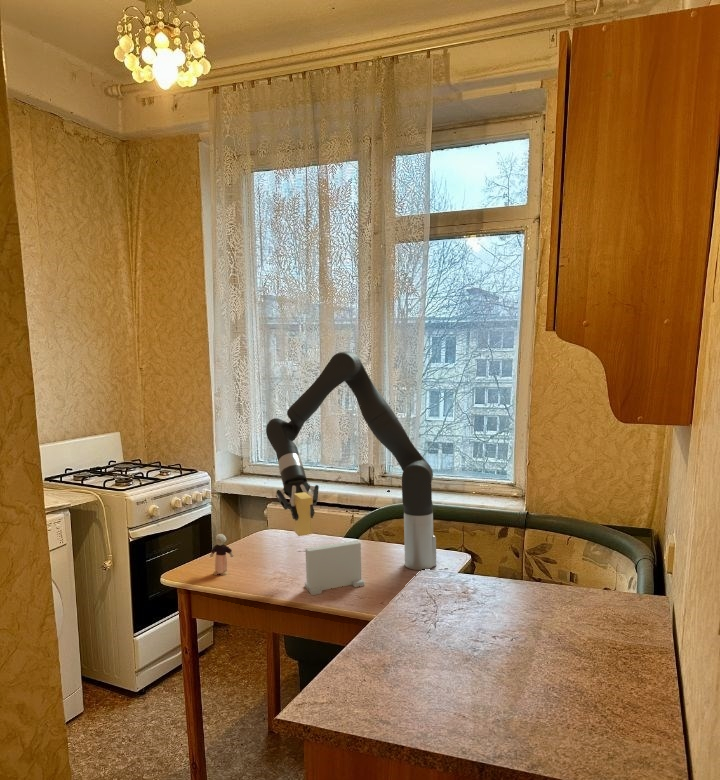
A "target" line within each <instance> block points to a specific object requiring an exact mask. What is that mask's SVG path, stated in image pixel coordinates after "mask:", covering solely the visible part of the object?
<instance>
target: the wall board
mask: <svg viewBox="0 0 720 780" xmlns="http://www.w3.org/2000/svg"><path fill="white" fill-rule="evenodd" d="M343 542H344V543H341V542H336V543H337V544H334V543H331V544H326V545H317V546H312V547H305V572H306V573H305V574H306V581H305V582H304V587H305V588H306V589H307V591H308V593H310V595H311V596H315V595H321V594H322V592H323V591H325V590H332V589H336V588H341V587H342V586H343V587H348V586H352V587H354V588H360V587H363V586H364V587H365V581H364V580H363V579H362V548H361V547H362V543H361V542H360V541H359V540H352V541H343ZM359 586H360V587H359ZM343 587H342V588H343ZM331 588H332V589H331Z"/></svg>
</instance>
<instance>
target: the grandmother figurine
mask: <svg viewBox="0 0 720 780" xmlns="http://www.w3.org/2000/svg"><path fill="white" fill-rule="evenodd" d="M226 541H227V537H226V536H225V535H224V534H223V533H218V534H216V535H215V542H216V545H214V546H213V547H212V549H211V552H210V555H209V557H210V558H214V559H215V560H214V561H215V564H214V566H215V567H214V571H213V573H212V575H213V574H214V575H213V576H216V575H217V574H218V575H219V574H220V576H226V574H227V575H228V573H229V572H228V558H227V557H228V556H227V554H228V555H229V556H230V558H234V556H235V555H234V553H233V550H232V548H230V547H229V546H228V545H225V542H226ZM214 555H215V557H214ZM218 575H217V576H218Z"/></svg>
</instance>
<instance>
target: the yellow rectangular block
mask: <svg viewBox="0 0 720 780" xmlns="http://www.w3.org/2000/svg"><path fill="white" fill-rule="evenodd" d="M308 494H309V493H308ZM308 494H307V493H305V492H302V493H295V494H294V496H295V506H296V510H297V513H298V516H299V518H298V520H296V521H295V520H294V532H295V534H296V535H297V536H298V537H303V536H308V535H312V518H311V513H310V505H312V504H313V496H311V495H310V494H309V495H308Z"/></svg>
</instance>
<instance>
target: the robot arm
mask: <svg viewBox="0 0 720 780" xmlns="http://www.w3.org/2000/svg"><path fill="white" fill-rule="evenodd" d="M344 382H345V384H346V385H347V386H348V387H349V389H350V390H351V392H352V393H353V394H354V396H355V398H356V399H355V400H356V401H357V404H358V406H359V410H360V413H361V416H362V418H363V420H364V421H365V423H366V425H367V426H368V428H369V429H370V431H371V433H372V434H373V436H375V438H376V439H377V440H378V441H379V442H380V443H381V445H383V446H384V448H386V449H387V451H388V452H390V453H391V454H392V456H393V457H394V458H395V460H396V461H397V463H398V465H399V466H400V468H401V470H402V475H401V495H402V496H401V498H402V499H401V500H402V506H403V530H404V531H403V532H404V533H403V535H404V537H403V539H404V566H405V567H406V568H407V569H411V570H415V571H423V570H422V569H426V570H430V569H431V568H433V567H436V566H437V537H436V535H434V506H433V498H432V497H433V496H432V495H433V494H432V481H433V478H434V473H433V472H434V471H433V469H432V467H431V465H430V464H429V463H428V461H427V460H426V459H425V457H424V456H423V455H422V454H421V453H420V452H419V451H418V449H417V447H415V445H414V444H413V442H412V441H411V439H410V438H409V436H408V434H407V432H406V430H405V429H404V427H403V425H402V423H401V422H400V420H399V418H398V417H397V415H396V414H395V412H394V410H393V409H392V408H391V406H390V405H389V404H388V402H387V401H386V399H385V398H384V397H383V395H382V394H381V392H380V391H379V390H378V388H377V386H376V385H375V384H374V383H373V381H372V379H371V378H370V376H369V374H368V373H367V371H366V368H365V366H364V364H363V362H362V361H361V359H360V357H359V356H358V355H357V354H356V353H354V352H352V351H340V352H337V353H335V354H334V355H333V356H332V357H331V358H330V360H329V361H328V363H327V364H326V366H325V367H324V368H323V370H322V371H321V373H320V374H319V376H318V377H317V378H316V380H314V381H313V383H312V384H311V385H310V386H309V387H308V388H307V389H306V390H305V391H304V392H303V393H302V394H301V395H300V396H299V397H298V398H297V400H295V402H294V403H292V405H291V406H289V408H288V409H287V411H286V415H287V417H288V419H289V420H290V421H289V422H287V421H286V420H284V419H283V420H282V419H281V418H277V417H275V418H272V419H270V420H269V421H268V423H267V424H266V426H265V434H266V437H267V440H268V441H269V443H270V446H271V447H272V448H273V450H274V451H275V454H276V458H277V459H276V460H277V462H278V468H279V469H278V470H279V474H280V478H281V481H282V486H283V489H281V490H280V489H277V490H276V493H275V497H276V499H277V501H278V502H279V504H280V505H281V507H282V508H283V509H284V510H290V513H291V514H290V515H291V517H292V519H293V520H294V522H295V521H296V520H298V518H299V516H298V513H297V510H296V506H295V496H294V494H295V493H302V492H305V493H307V494H308V495H310V493H309V492H311V494H313V496H312V498H313V504H312V505H310V513H311V519H313V518H314V516H315V513H316V512H315V509H314V506H316V505H317V502H318V500H319V491H320V490H319V488H320V486H319V485H318V484H315V485H313V486H312V485H310V483H309V482H308V479H307V475H306V471H305V467H304V466H303V461H302V459H301V456H300V453H299V451H298V447H297V445H296V443H295V442H294V441H295V440H296V438H297V436H298V435H299V433H300V432H301V429H302V428H303V426H304V424H305V423H306V421H308V420H309V419H310V418H311V416H313V414H314V413H316V411H318V409H319V408H320V407H321V405H322V404H323V402H324V401H325V400H326V398H327V397H329V394H330V393H331V392H333V390H335V389H336V388H338V387H339V386H340V385H341V384H343V383H344ZM285 495H286V496H287V497H288V498H289V502H288V500H287V498H286V497H285Z"/></svg>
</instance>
